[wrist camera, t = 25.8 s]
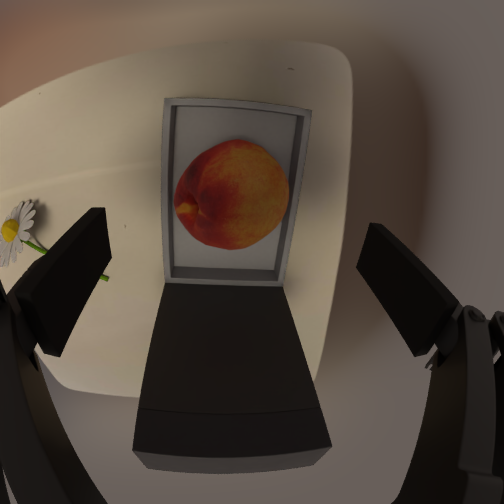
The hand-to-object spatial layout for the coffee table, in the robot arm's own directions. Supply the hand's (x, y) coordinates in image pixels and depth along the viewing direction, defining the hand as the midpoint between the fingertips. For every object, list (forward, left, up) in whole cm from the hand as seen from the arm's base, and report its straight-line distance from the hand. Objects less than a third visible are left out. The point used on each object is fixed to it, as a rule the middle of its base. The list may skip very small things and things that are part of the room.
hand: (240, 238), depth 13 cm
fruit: (0, 0, -12) cm, 12 cm away
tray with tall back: (+3, 0, -12) cm, 13 cm away
